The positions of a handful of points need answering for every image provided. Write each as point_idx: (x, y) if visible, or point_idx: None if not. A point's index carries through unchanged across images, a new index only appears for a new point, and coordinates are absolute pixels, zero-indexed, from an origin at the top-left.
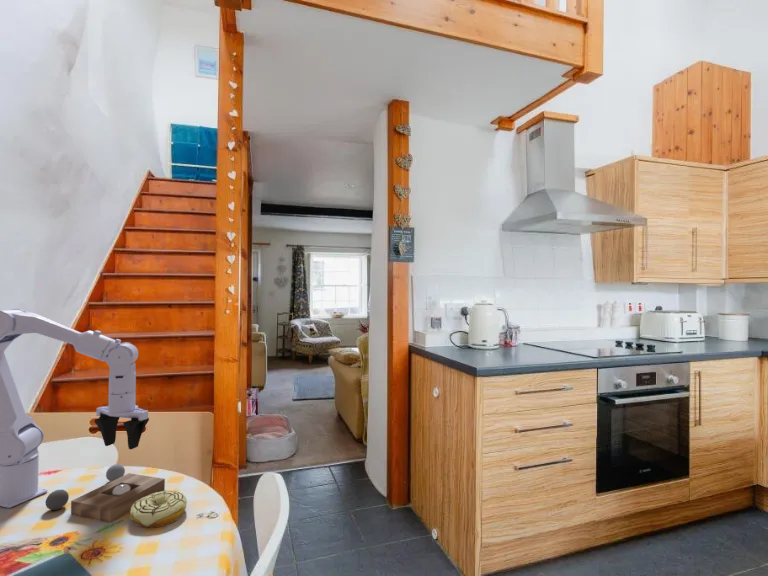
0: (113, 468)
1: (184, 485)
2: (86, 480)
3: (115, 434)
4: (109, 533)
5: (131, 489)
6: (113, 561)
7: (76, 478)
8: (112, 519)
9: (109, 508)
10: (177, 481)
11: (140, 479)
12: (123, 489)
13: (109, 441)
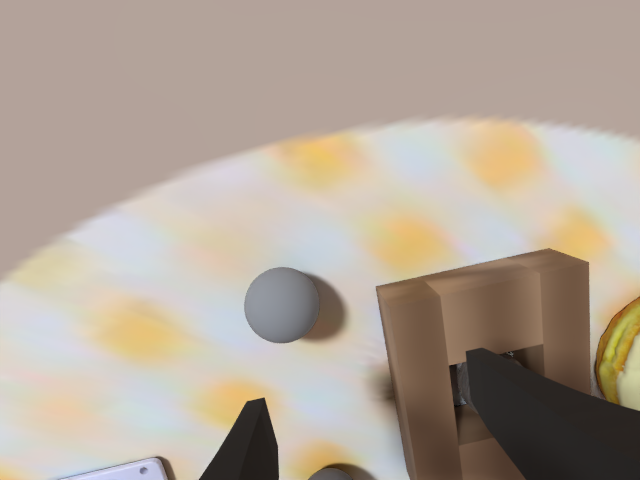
0: (296, 333)
1: (582, 178)
2: (169, 345)
3: (252, 439)
4: None
5: (517, 362)
6: None
7: (108, 357)
8: None
9: None
10: (527, 168)
11: (495, 315)
12: None
13: (272, 453)
